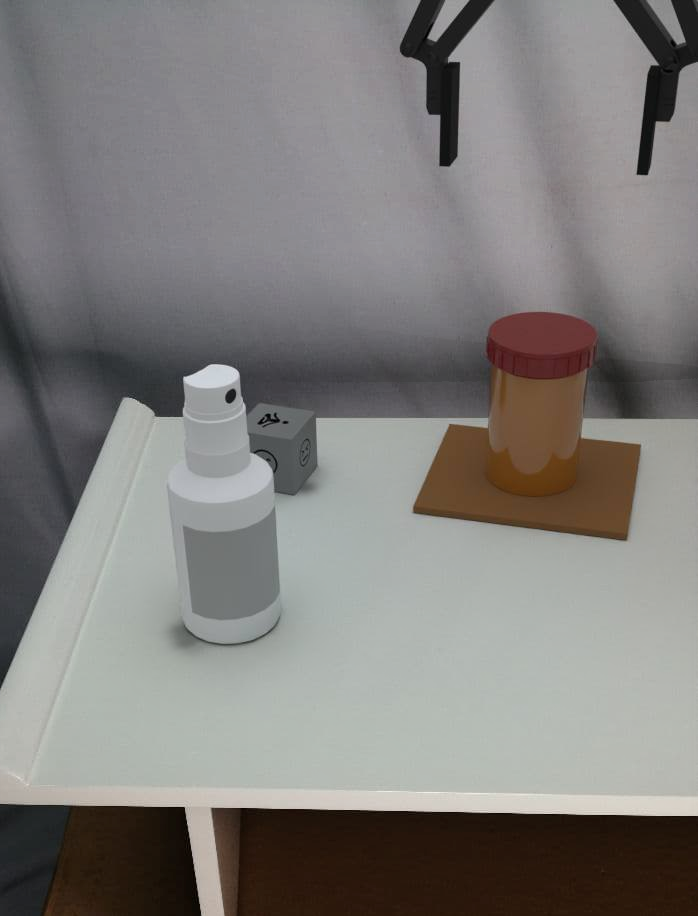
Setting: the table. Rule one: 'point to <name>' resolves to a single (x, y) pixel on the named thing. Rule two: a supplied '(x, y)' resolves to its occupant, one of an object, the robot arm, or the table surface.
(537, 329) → the lid
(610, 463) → the mat
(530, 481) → the jar
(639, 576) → the table surface
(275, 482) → the gray cube
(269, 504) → the spray bottle
